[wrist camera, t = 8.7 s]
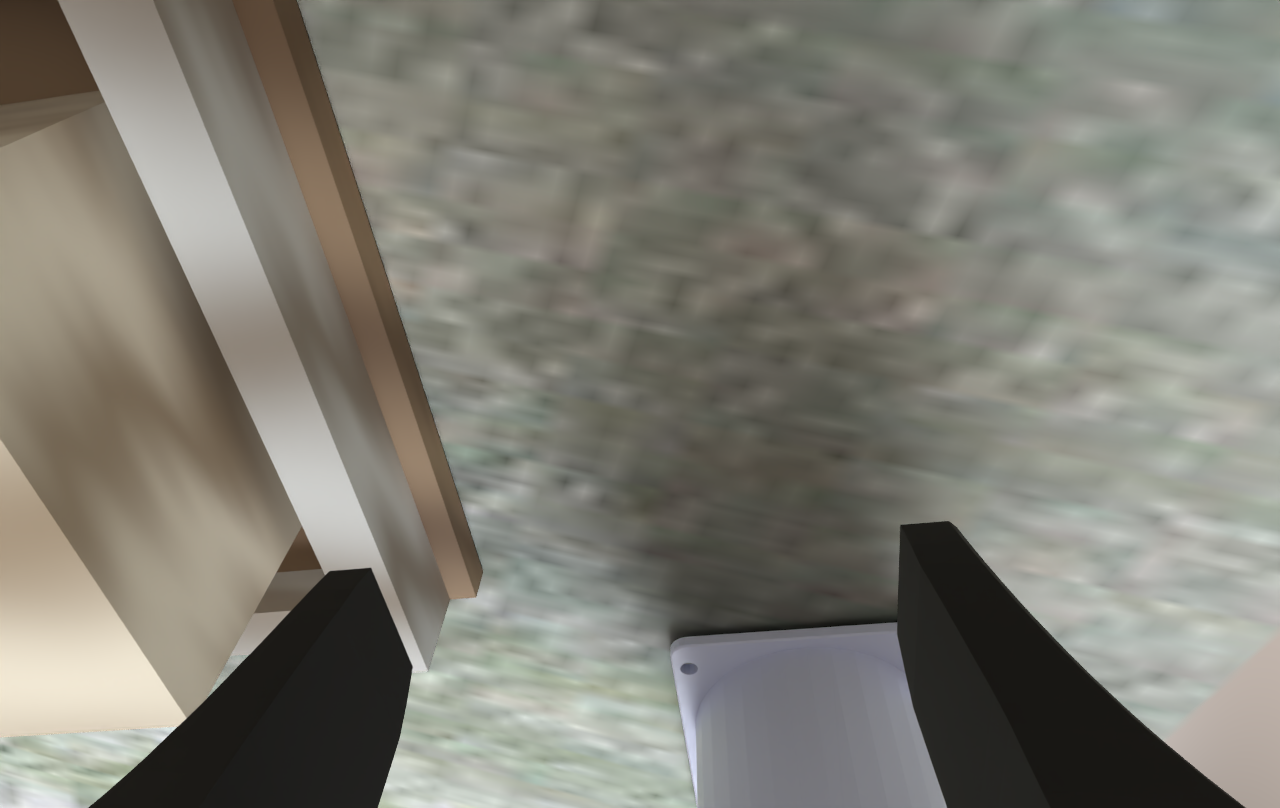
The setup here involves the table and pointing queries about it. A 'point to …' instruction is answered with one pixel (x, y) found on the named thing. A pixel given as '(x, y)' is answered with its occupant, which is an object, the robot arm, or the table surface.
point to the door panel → (114, 447)
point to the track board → (274, 278)
